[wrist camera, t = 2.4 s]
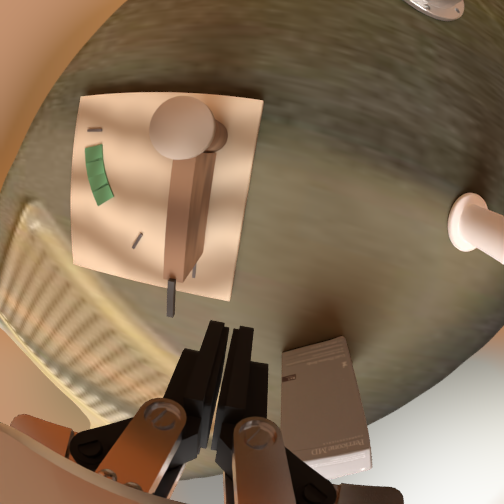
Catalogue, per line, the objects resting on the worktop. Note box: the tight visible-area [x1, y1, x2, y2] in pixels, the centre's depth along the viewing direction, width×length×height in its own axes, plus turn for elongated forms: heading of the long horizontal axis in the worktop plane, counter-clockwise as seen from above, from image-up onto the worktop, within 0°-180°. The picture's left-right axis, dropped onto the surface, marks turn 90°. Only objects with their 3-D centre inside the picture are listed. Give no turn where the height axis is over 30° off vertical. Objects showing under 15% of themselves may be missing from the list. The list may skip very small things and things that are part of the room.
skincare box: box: [281, 336, 372, 480], centre depth 25 cm, size 8×7×16 cm
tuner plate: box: [71, 92, 264, 301], centre depth 26 cm, size 20×20×2 cm
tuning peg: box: [149, 96, 228, 318], centre depth 21 cm, size 16×4×9 cm, turn 170°
